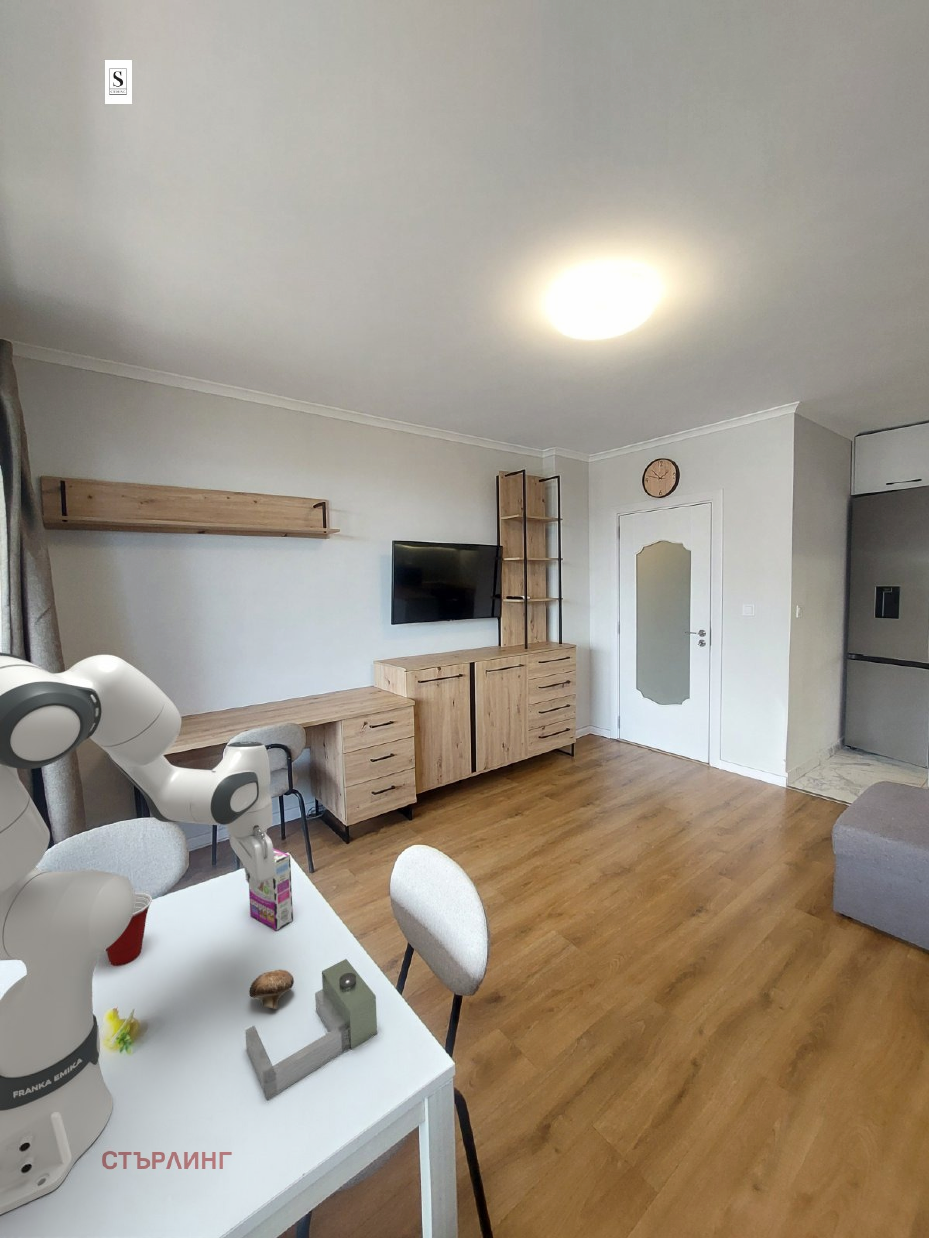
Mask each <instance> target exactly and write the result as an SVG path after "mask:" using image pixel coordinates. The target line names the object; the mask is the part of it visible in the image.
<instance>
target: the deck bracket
mask: <svg viewBox="0 0 929 1238" xmlns="http://www.w3.org/2000/svg"><path fill="white" fill-rule="evenodd" d="M321 980H322V983H321V984H322V988H321V989H320V990H318V991H317V992H315V993H314V996H315V997H314V998H315V1012H316V1013H317V1015H318V1017H319V1018H320V1020H321V1021H322V1023H323V1025H324V1026H325V1028H326V1029H327V1031H328V1033H326V1034H324V1035H323V1036H321V1037H319V1038H318V1039H316V1040H314V1041H313V1042H311V1043H309V1044H308V1045H306V1046H304V1047H303V1048H301V1049H299V1050H297V1051H296V1052H294V1053H292V1054H291V1055H290V1056H288V1057H285V1058H284V1059H283V1060H281V1061H279V1062H278V1063H276V1064H274V1065H273V1064H272V1061H271V1059H270V1057H269V1055H268V1053H267V1050H266V1048H265V1046H264V1043H263V1042H262V1039H261V1037H260V1035H259V1033H258V1030H257V1029H256V1025H252V1026H251V1027H249V1028H247V1029H245V1030H244V1031H245V1047H246V1052H247V1054H248V1058H249V1059H250V1061H251V1064H252V1067H253V1069H254V1071H255V1074H256V1077H257V1079H258V1082H259V1085H260V1086H261V1089H262V1092H263V1094H264V1095H265V1099H266V1101H269V1100H270V1099H271V1098H273V1097H275V1096H276V1095H278V1094H279V1093H281V1092H283V1091H284V1090H286V1089H288V1088H289V1087H291V1086H292V1085H294V1084H295V1083H297V1082H299V1081H300V1080H301V1079H303V1078H305V1077H306V1076H308V1075H309V1074H311V1073H313V1072H315V1071H317V1070H318V1069H320V1067H322V1066H324V1065H325V1064H327V1063H329V1062H330V1061H332V1060H334V1059H335V1058H337V1057H338V1056H340V1055H342V1054H343V1053H344V1052H346V1051H348V1050H351V1051H352V1050H354V1049H355V1048H357V1047H358V1046H360V1045H361V1044H363V1043H364V1042H366V1041H368V1040H369V1039H371V1038H372V1037H374V1036H376V1035H377V1034H378V1021H377V1019H378V1018H377V997H376V996H377V995H376V994H375V993H374V992H373V990H372V989H371V988H370V987H369V985H368V984H367V983H366V982H365V980H364V979H363V977H362V976H360V974H359V973H358V972H357V970H356V969H355V968H354V966H353V965H352V964H351V963H350V961H348V959H347V958H345V959H343V960H341V961H339V962H337V963H336V964H333V965H331V966H329V967H327V968H326V969H323V970H322V971H321Z"/></svg>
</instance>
